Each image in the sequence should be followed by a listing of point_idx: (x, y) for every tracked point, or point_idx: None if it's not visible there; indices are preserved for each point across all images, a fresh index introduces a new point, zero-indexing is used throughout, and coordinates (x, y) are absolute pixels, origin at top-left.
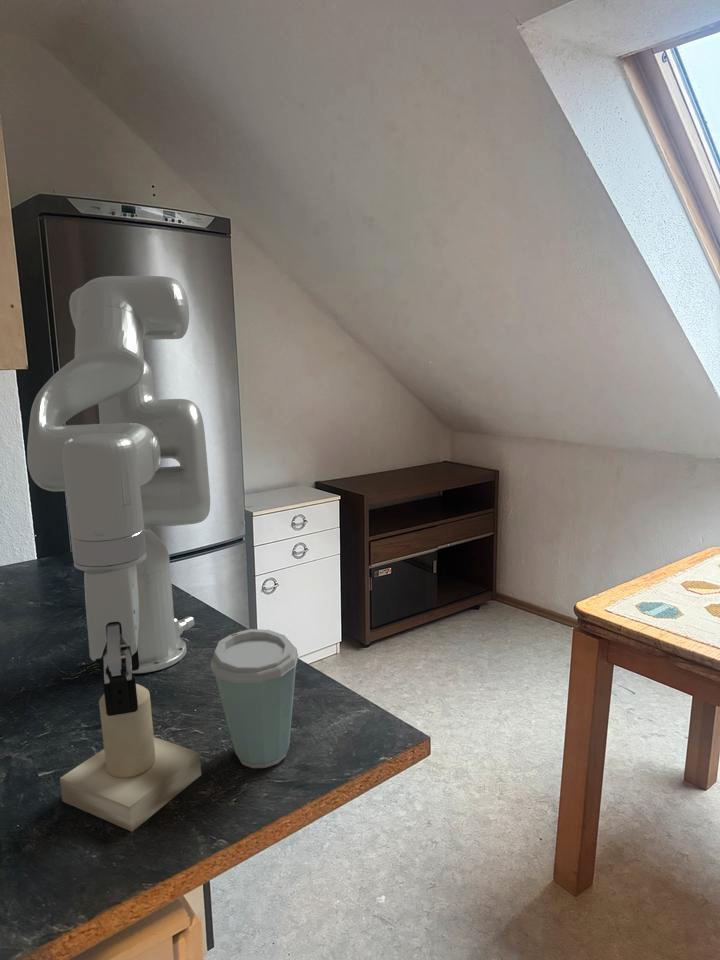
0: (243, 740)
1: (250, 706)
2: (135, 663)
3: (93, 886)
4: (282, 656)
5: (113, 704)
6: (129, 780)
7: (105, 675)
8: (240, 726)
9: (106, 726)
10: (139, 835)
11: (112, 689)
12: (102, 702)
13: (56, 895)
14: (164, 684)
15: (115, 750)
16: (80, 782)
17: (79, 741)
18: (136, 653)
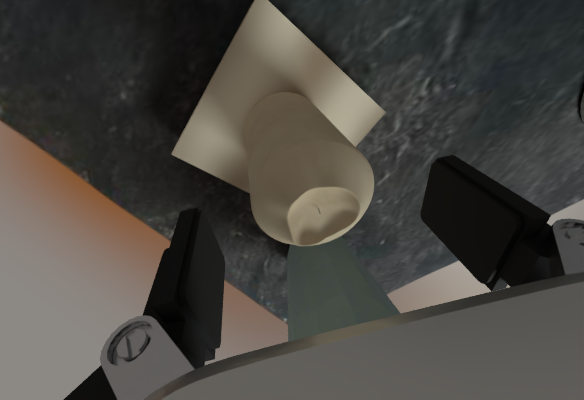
0: (294, 265)
1: (290, 323)
2: (432, 226)
3: (60, 110)
4: None
5: (161, 260)
6: (239, 139)
7: (109, 372)
8: (295, 281)
9: (260, 144)
10: (173, 148)
11: (145, 311)
12: (287, 160)
13: (22, 56)
14: (532, 111)
15: (248, 139)
16: (240, 48)
17: None
18: (451, 251)
